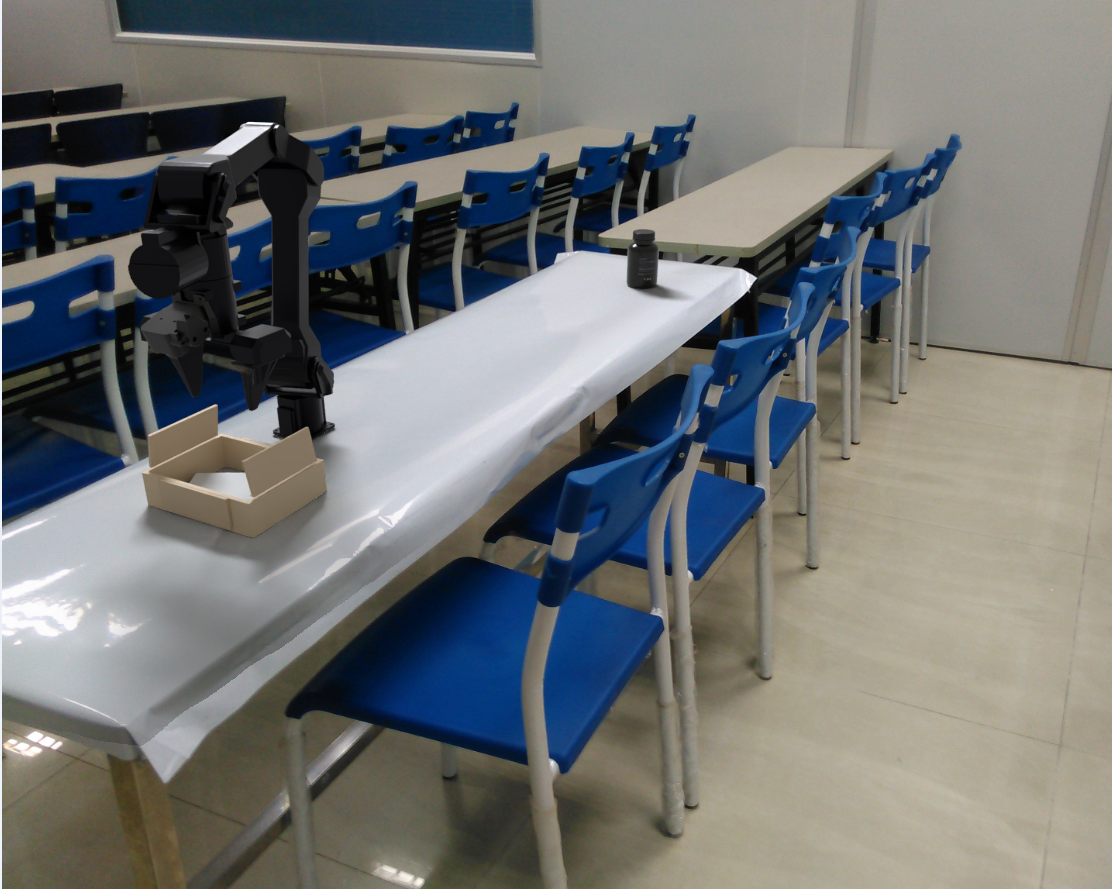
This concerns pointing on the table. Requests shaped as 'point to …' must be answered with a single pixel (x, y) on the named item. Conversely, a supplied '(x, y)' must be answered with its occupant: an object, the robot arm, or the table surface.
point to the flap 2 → (279, 461)
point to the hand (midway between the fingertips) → (224, 402)
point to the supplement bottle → (642, 260)
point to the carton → (245, 517)
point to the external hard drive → (224, 483)
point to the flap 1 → (182, 435)
